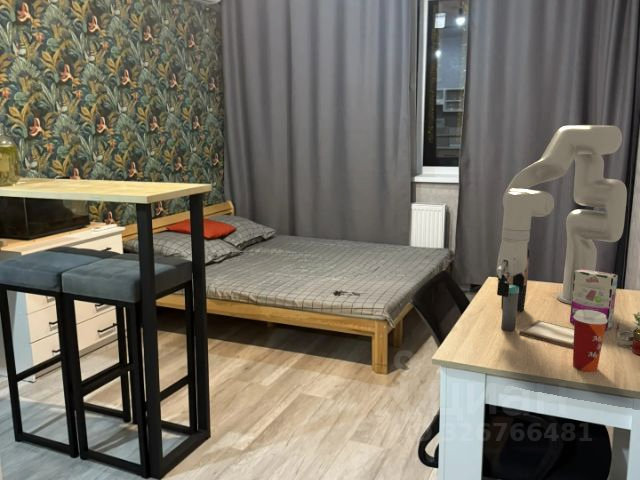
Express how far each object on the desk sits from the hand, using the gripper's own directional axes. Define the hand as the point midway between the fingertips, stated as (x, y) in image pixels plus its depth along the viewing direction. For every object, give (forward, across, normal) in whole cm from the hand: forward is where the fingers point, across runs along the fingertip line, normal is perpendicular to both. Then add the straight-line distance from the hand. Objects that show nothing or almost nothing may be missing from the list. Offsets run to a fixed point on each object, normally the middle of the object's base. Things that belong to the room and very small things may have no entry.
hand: (510, 292), depth 168 cm
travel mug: (+11, -21, -8) cm, 25 cm away
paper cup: (+12, +11, +26) cm, 31 cm away
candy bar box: (+11, -23, +16) cm, 30 cm away
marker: (+11, -1, 0) cm, 11 cm away
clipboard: (+11, -6, +12) cm, 17 cm away
